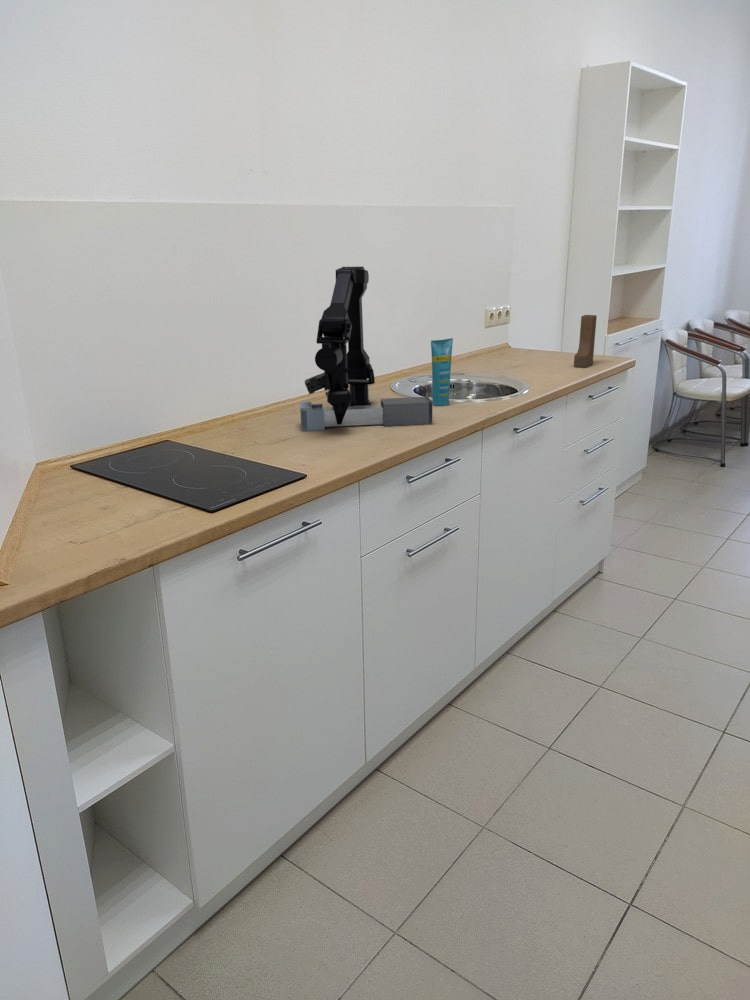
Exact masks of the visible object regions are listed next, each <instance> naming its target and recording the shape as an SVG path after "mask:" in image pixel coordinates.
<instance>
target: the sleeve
mask: <svg viewBox="0 0 750 1000" xmlns="http://www.w3.org/2000/svg"><path fill="white" fill-rule="evenodd" d="M380 405H383V407H384V424H383V427H401V426H420V425H433V400H431V399H430V397H428V396H415V397H414V396H413V397H412V396H411V397H410V396H409V397H391V398H390V397H389V398H380Z"/></svg>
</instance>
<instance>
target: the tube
mask: <svg viewBox="0 0 750 1000" xmlns="http://www.w3.org/2000/svg"><path fill="white" fill-rule="evenodd" d="M453 343H454V338H453V337H450V338H444V339H437V340H430V347H431V348H430V349H431V379H432V380H431V381H432V383H431V385H432V386H431V387H432V390H431V391H432V398H431V399H432V406H433V405H434V406H440V407H441V406H442V407H444V406H448V405H449V404H450V403H449V402H450V386H451V385H450V384H451V369H452V355H453V354H452V353H453V345H454V344H453Z"/></svg>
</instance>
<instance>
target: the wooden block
mask: <svg viewBox="0 0 750 1000" xmlns="http://www.w3.org/2000/svg"><path fill="white" fill-rule="evenodd" d="M597 317H598V316H597V314H596V315H595V314H584V315H582V316H580V329H579V331H580V332H579V343H578V349H577V352H576V353H575V354H574V357H573V358H574V360H573V367H574V368H580V369H581V368H582V369H586V368H587V367H589V366H592V365H593V363H594V350H595V344H596V343H595V342H596V341H595V340H596V330H597V329H596V328H597Z"/></svg>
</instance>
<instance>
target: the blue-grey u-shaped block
mask: <svg viewBox="0 0 750 1000" xmlns="http://www.w3.org/2000/svg"><path fill="white" fill-rule="evenodd" d="M321 407H323V403H322V402H321V403H312V400H305V401H304V400H303V401H302V400H301V401H299V409H300V424H301V431H302V432H308V431H310V432H311V431H325V427H324V409H312V408H321Z"/></svg>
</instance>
